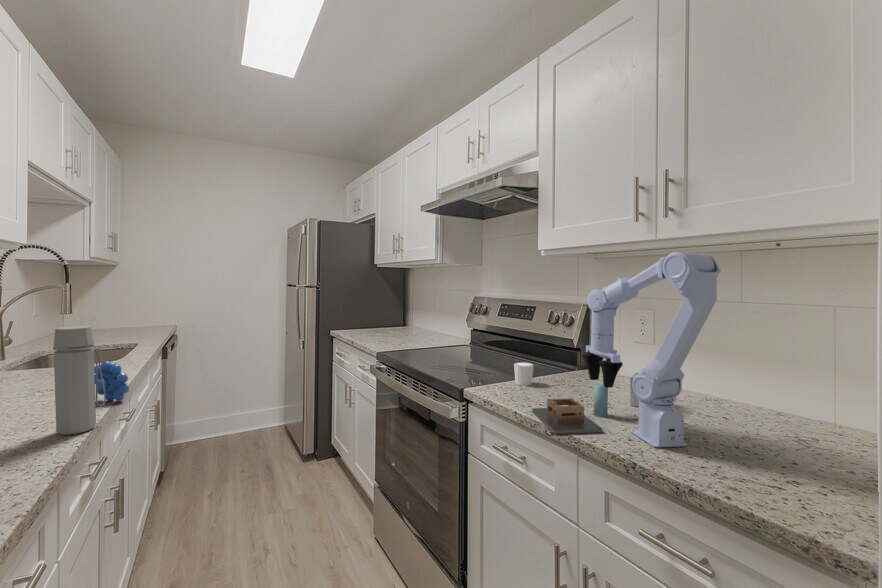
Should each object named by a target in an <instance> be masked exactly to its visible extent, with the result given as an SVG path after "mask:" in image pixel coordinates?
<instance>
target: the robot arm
mask: <svg viewBox="0 0 882 588" xmlns="http://www.w3.org/2000/svg"><path fill="white" fill-rule="evenodd" d="M721 271H722V269H721V268H720V266H719V264H718V262H717V260H716V259H715V257H714V256H713V255H711V254H709V253H706V252H701V253H696V252H695V253H693V252H692V253H691V252H680V251H674V252H671V253H669V254H668V255H667V256H663V257H661V258H659V260H657V262H655V263H654V264H652V265H651V266H649V267H647V268H646V269H644V270H643V271H641V272H639V273H638V274H636V275H635V276H633V277H632V278H631V277H630V276H629V277H628V276H619V277H617V278H616V281H615V282H613V283H611V284H608V285H607V284H606V285H604V286H603V288H602V289H592V290H591V292H589V294H588V295H587V298H586V300H587V301H586V302H587V306H588V309H589V310H590V311H591V322H590V323H591V324H590V325H591V330H590V331H591V332H590V333H591V334H590V345H589V344H588V345H585V352H586V353H584V354H582V358H583V360H584V361H585V364H586V367H587V371H588V374H589V375H588V376H589V380H591V381H596V380H597V381H598V380H599V377H600V374H601V373H600V372H602V383H603V384H602V385H604V387H606V388H608V389H609V388H613V387H614V384H615V381H616V378H617V374H618V373H619V371H620V370H621V368H622V367H623V366H624V365H623V362H622V361H621V355H620V354H618V350H617V349H614V338H615V336H614V335H615V317H616V316H617V310H618V308H619V307H620V306H621V305H623V304H624V303H627V302H628V301H630V300H632V299H634V298H636V297H637V296H638V295H639V292H640V290H643V289H644V288H647V287H649V286H652V285H654V284H656V283H659V282H661V281H663V280H665V279H666V280H667V281H668V282H669V283H670V284H671V285H672V286H673V287H674V289H675V290H676V291H677V292H678V293H679V294H680V296H681V298H682V301H681V304H680V305H679V308H678V310H677V312H676V313H675V316H674V318H673V320H672V322H671V324H670V326H669V328H668V330H667V332H666V335H665V336H664V339H663V340H662V343H661V345H660V347H659V349H658V351H657V353H656V355H655V356H654V359H652V360H651V361H650V362H649V363H647V364H645V365H644V366H643V367H642V369H641V371H640V372H638V373H639V374H638V375H636V376H635V377H634V379H633V381H632V388H633V391H634V393H635V395H636V396H637V399H638V400H639V407H638V425H637V426H638V428H636V429H635V428H632V429H629V430H630V433H632V434H634V435H635V436H636V437H638V438H639V439H641V440H643V441H644V442H646V443H648V445H650V446H652V447H654V448H673V447H675V448H676V447H687V446H688V444H687V443H686V442H684V436H685V435H684V433H685V430H684V429H685V418H684V415H683V414H682V412H681V411H680V410H678V408H677V407H676V405H675V402H676V400H677V399H676V397H677V396H678V395H680V393H681V392H682V389H683V379H684V378H685V374H684V372H683V371H682V369H681V368H682V366H683V364H684V363H685V361H686V359H687V357H688V355H689V353H690V352H691V350H692V347H693V345H694V344H695V342H696V340H697V338H698V337H699V334H700V332H701V331H702V329H703V327H704V326H705V324H706V321H707V320H708V318H709V316H710V314H711V312H712V310H713V309H714V306H715V305H716V302H717V293H718V291H717V290H718V288H717V287H718V286H717V285H718V282H717V281H718V276H719V275H720V273H721Z"/></svg>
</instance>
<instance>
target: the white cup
mask: <svg viewBox="0 0 882 588" xmlns="http://www.w3.org/2000/svg"><path fill="white" fill-rule="evenodd" d="M513 368H514V380H515V381H514V382H515V385H518V386H524V387H526V386H528V387H529V386H532V383H533V374H534V363H531V362H525V361H524V362H522V361H521V362H520V361H519V362H515V363H513Z"/></svg>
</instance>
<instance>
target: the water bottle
mask: <svg viewBox="0 0 882 588" xmlns="http://www.w3.org/2000/svg"><path fill="white" fill-rule="evenodd" d="M53 338H54V339H53V346H52V351H54V352H53V372H54V373H53V375H54V377H53V378H54V397H55V400H54V402H55V428H56V431H55V432H56V433H57V434H58V435H62V436H72V435H71V434H73V435H77V433H79V434H82V432H83V433H86V432H88V431H90V430H92V429H94V428H95V427H96V425H97V413H96V411H97V410H96V409H97V408H96V405H98V406H99V407H103V406H105V403H106V393H105V388H104V382H103V377H102V371H101V366H100V365H101V362H100V361H101V360H100V355H99V351H100V345H95V338H94V330H93V326H92V325H76V326H75V325H74V326H73V325H72V326H63V327H62V326H61V327H56V328H54V337H53ZM95 352H96V353H95ZM95 354H96V355H95ZM95 362H96V365H95ZM97 365H99V367H100V373H101V379H102V384H103V390H104V395H103V401H102V403H101V404H99V402H98V399H99V397H98V395H99V394H98V387H97ZM95 366H96V384H95V373H94V367H95Z"/></svg>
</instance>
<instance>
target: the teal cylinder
mask: <svg viewBox="0 0 882 588" xmlns="http://www.w3.org/2000/svg"><path fill="white" fill-rule="evenodd" d="M608 399H609V388H606V387H604V384H594V386H593V416H595V417H599V418H607V417H608V410H609V409H608V401H609V400H608Z"/></svg>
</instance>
